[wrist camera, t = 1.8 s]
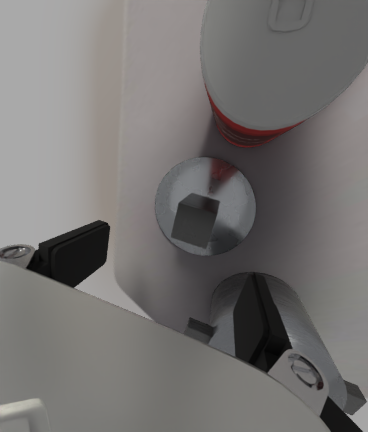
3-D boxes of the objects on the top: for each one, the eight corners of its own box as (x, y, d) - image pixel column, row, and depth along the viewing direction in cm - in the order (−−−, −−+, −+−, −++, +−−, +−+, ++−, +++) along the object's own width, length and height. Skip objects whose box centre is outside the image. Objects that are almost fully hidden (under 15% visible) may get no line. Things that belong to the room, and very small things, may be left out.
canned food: (293, 47, 15) (421, -182, 5) (293, 140, 17) (387, 105, 7) (210, 74, 18) (186, -52, 7) (218, 154, 20) (208, 142, 9)
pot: (207, 254, 23) (196, 303, 15) (342, 299, 21) (420, 390, 12) (187, 315, 27) (169, 382, 19) (298, 361, 25) (334, 461, 16)
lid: (167, 146, 21) (140, 138, 14) (271, 172, 19) (294, 176, 12) (151, 235, 25) (124, 260, 19) (234, 264, 23) (237, 302, 17)
